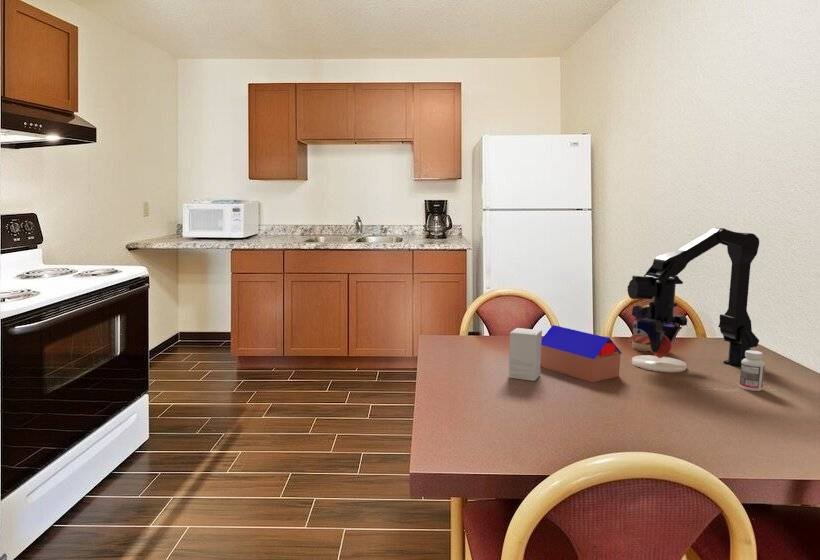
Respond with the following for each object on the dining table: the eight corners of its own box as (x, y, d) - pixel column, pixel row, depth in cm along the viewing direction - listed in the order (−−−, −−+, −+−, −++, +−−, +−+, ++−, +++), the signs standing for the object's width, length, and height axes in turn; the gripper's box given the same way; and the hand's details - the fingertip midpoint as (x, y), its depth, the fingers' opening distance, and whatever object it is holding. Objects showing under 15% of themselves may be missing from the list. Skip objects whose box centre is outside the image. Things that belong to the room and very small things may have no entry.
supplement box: (540, 375, 168) (543, 329, 166) (534, 381, 161) (536, 334, 159) (514, 371, 171) (516, 327, 169) (507, 377, 164) (509, 331, 162)
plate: (648, 356, 192) (648, 352, 191) (695, 367, 180) (696, 363, 180) (622, 363, 182) (622, 359, 182) (669, 375, 171) (670, 371, 171)
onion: (672, 361, 177) (674, 334, 176) (651, 359, 178) (653, 332, 178) (667, 356, 183) (670, 330, 182) (647, 355, 184) (649, 329, 183)
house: (564, 361, 184) (566, 323, 183) (620, 377, 168) (623, 335, 167) (536, 366, 178) (538, 326, 176) (592, 383, 161) (595, 340, 160)
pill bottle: (747, 384, 164) (751, 348, 162) (767, 390, 159) (770, 353, 158) (734, 386, 161) (737, 350, 160) (753, 392, 156) (757, 355, 155)
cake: (625, 344, 208) (628, 301, 206) (654, 344, 209) (657, 301, 207) (639, 352, 197) (643, 306, 196) (670, 352, 199) (674, 306, 197)
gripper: (655, 293, 191) (651, 341, 193) (621, 297, 179) (618, 349, 181) (689, 297, 182) (685, 348, 184) (657, 303, 170) (653, 357, 172)
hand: (660, 350), depth 181 cm, fingers closed on onion, 6 cm apart
